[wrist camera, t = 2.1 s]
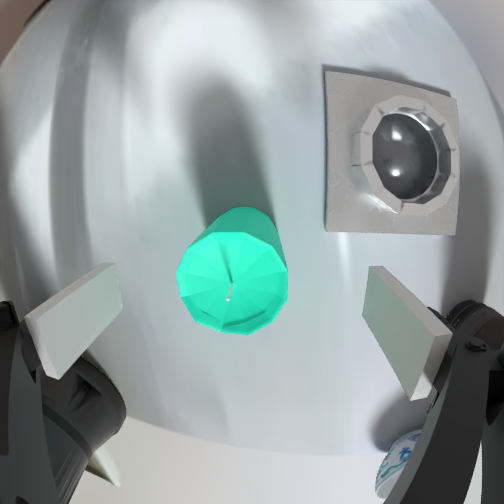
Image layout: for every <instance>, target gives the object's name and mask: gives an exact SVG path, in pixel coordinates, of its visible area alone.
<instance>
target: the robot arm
mask: <svg viewBox="0 0 504 504" xmlns="http://www.w3.org/2000/svg"><path fill="white" fill-rule="evenodd" d="M122 310H123V304H122V299H121V294H120V288H119V282H118V276H117V269H116V263H107V262H104V263H102V264H101V265H99V266H98V267H96V268H95V269H93V270H91V271H90V272H88V273H87V274H85V275H84V276H82V277H81V278H79V279H78V280H76V281H75V282H73V283H72V284H70V285H69V286H67V287H66V288H64V289H63V290H61V291H60V292H58V293H57V294H55V295H54V296H52V297H51V298H49V299H48V300H47V301H45V302H44V303H42V304H41V305H40V306H38V307H37V308H35V309H34V310H33V311H31V312H30V313H28V314H27V315H26V316H24V318H25V319H24V320H22V321H21V322H20V323H19V320H18V317H17V314H16V311H15V308H14V304H13V302H11V301H2V302H0V504H69V502H70V500H71V498H72V495H73V493H74V491H75V489H76V487H77V485H78V482H79V480H80V478H81V476H82V474H83V472H84V470H85V468H86V466H87V464H88V462H89V460H90V458H91V456H92V454H93V453H94V451H95V450H97V449H98V448H99V447H100V446H101V445H103V444H104V443H105V442H106V441H107V440H108V439H109V438H110V437H111V436H113V435H115V434H116V433H117V432H118V431H119V430H120V428H121V426H122V424H123V422H124V420H125V418H126V408H125V405H124V402H123V400H122V398H121V396H120V395H119V393H118V392H117V390H116V389H115V387H114V386H113V385H112V384H111V383H110V381H109V380H108V379H107V378H106V377H105V376H104V375H103V374H102V373H101V372H99V371H98V370H97V369H96V368H95V367H93V366H92V365H91V364H89V363H88V362H87V361H85V360H83V359H82V358H80V357H79V356H80V355H81V354H82V353H83V352H84V351H85V350H86V349H87V348H88V346H89V345H90V344H91V343H92V342H93V341H94V340H95V339H96V338H97V337H98V336H99V334H100V333H101V332H102V331H103V330H104V329H105V328H106V327H107V326H108V325H109V324H110V323H111V322H112V321H113V319H114V318H115V317H116V316H117V315H118V314H119V313H120V312H121V311H122ZM362 316H363V318H364V319H365V321H366V323H367V324H368V326H369V328H370V330H371V331H372V333H373V335H374V336H375V338H376V340H377V342H378V343H379V345H380V347H381V349H382V350H383V352H384V354H385V356H386V357H387V359H388V361H389V363H390V364H391V366H392V368H393V370H394V372H395V374H396V375H397V377H398V379H399V381H400V383H401V385H402V387H403V388H404V390H405V392H406V394H407V396H408V398H409V400H410V401H412V400H417V399H421V398H426V397H428V395H429V392H430V390H431V388H432V386H433V385H434V386H435V388H436V390H437V393H436V395H435V398H434V400H433V402H432V404H431V405H430V407H429V409H428V411H427V413H428V416H427V419H426V421H425V424H424V426H423V428H422V431H421V433H420V436H419V438H418V440H417V442H416V444H415V447H414V449H413V451H412V453H411V455H410V457H409V459H408V461H407V463H406V465H405V467H404V469H403V471H402V473H401V474H400V476H399V478H398V480H397V482H396V483H395V485H394V487H393V489H392V490H391V492H390V494H389V495H388V497H387V499H386V500H385V502H384V503H383V504H463V503H464V500H465V498H466V495H467V491H468V489H469V486H470V482H471V479H472V476H473V472H474V468H475V464H476V461H477V456H478V452H479V448H480V442H481V444H482V494H481V504H504V342H503V345H502V347H501V350H490V349H489V346H488V345H487V344H486V342H484V341H483V340H481V339H479V338H476V337H472V336H464V337H463V336H462V335H461V334H460V333H459V332H458V331H457V330H456V329H455V328H454V327H453V326H452V325H451V324H448V321H447V320H446V319H444V317H443V316H442V315H440V314H439V313H438V312H437V311H436V310H434V309H432V308H430V307H426V306H425V305H424V304H423V303H422V302H421V301H420V300H419V299H418V298H417V297H416V296H415V295H414V294H413V293H412V292H410V291H409V290H408V289H407V288H406V287H405V286H404V285H403V284H402V283H401V282H400V281H399V280H398V279H396V278H395V277H394V276H393V275H392V274H391V273H390V272H389V271H388V270H387V269H385V268H384V267H383V266H369V273H368V281H367V288H366V294H365V301H364V307H363V313H362Z"/></svg>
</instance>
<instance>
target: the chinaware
mask: <svg viewBox="0 0 504 504" xmlns="http://www.w3.org/2000/svg"><path fill="white" fill-rule="evenodd" d="M421 431H422V429H419V430H414V431H411V432H409V433H407V434H405V435H403V436H402V437H400V438H399V439H397V440H396V441H395V442H394V443H393V444H392V446H391V447H390V452H389V453H388V455H387V456H386V457H385V459H384V460H383V462H382V464H381V466H380V468H379V470H378V473H377V477H376V487H375V492H376V496H377V497H379V498H382V499H387V497H388V495H389V494H390V492H391V490H392V489H393V487H394V485H395V483H396V482H397V480H398V478H399V476H400V474H401V473H402V471H403V469H404V467H405V465H406V463H407V461H408V459H409V457H410V455H411V453H412V451H413V449H414V447H415V444H416V442H417V440H418V438H419V436H420V433H421Z"/></svg>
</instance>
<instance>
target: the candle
mask: <svg viewBox="0 0 504 504" xmlns="http://www.w3.org/2000/svg"><path fill="white" fill-rule="evenodd" d="M176 277H177V282H178V286H179V291H180V296H181V299H182V300H183V302H184V304H185V305H186V307H187V309H188V310H189V312H190V314H191V315H192V317H193V319H194V320H195V322H197V323H199V324H202V325H204V326H207V327H209V328H212V329H214V330H217V331H220V332H224V333H232V334H241V335H250V334H252V333H254V332H255V331H257V330H259V329H261V328H263V327H265V326H267V325H268V324H270V323H272V322H273V321H274V319H275V318H276V316H277V315H278V313H279V312H280V310H281V309H282V307H283V306H284V304H285V302H286V301H287V299H288V269H287V265H286V261H285V257H284V254H283V250H282V246H281V242H280V238H279V234H278V231H277V229H276V227H275V226H274V224H273V222H272V221H271V219H270V217H269V216H268V215H266V214H265V213H263V212H261V211H259V210H257V209H255V208H254V207H233V208H232V209H230V210H229V211H227V212H225V213H224V214H222V215H220V216H219V217H218V218H217V219H216V220H215V221H214V222H213V223H212V224H211V225H210V226H209V227H208V228H207V229H206V230H205V231H204V232H203V233H202V234H201V235H200V236H199V237H198V238H197V239H196V240H195V241H194V242H193V243H192V244H191V245H190V246H189V247H188V248H187V250H186V252H185V254H184V256H183V259H182V261H181V263H180V265H179V267H178V269H177V272H176Z"/></svg>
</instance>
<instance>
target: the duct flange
mask: <svg viewBox="0 0 504 504" xmlns="http://www.w3.org/2000/svg"><path fill="white" fill-rule="evenodd" d="M324 76H325V95H326V125H327V186H326V218H325V230H326V231H327V232H361V233H396V234H424V235H448V236H455V233H456V224H457V215H458V202H459V185H460V138H459V121H458V109H457V100H456V99H454V98H451V97H448V96H445V95H442V94H439V93H435V92H432V91H429V90H425V89H422V88H418V87H414V86H410V85H406V84H402V83H398V82H393V81H388V80H383V79H378V78H373V77H367V76H361V75H355V74H348V73H341V72H332V71H326V72H325V74H324Z"/></svg>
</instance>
